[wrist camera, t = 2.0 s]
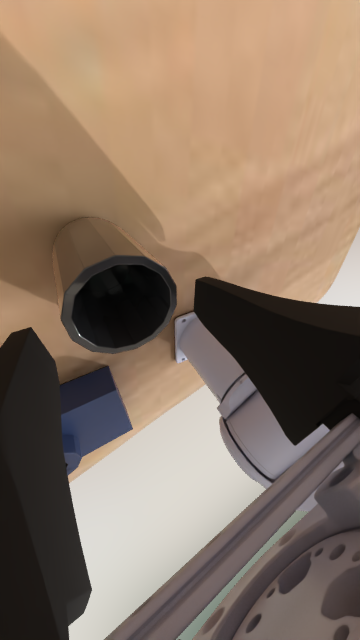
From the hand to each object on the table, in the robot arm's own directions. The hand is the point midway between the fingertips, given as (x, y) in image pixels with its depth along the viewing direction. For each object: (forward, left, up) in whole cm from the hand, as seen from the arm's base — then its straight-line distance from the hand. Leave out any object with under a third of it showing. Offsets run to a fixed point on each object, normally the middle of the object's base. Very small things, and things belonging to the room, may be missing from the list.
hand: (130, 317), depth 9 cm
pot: (0, 0, -8) cm, 8 cm away
